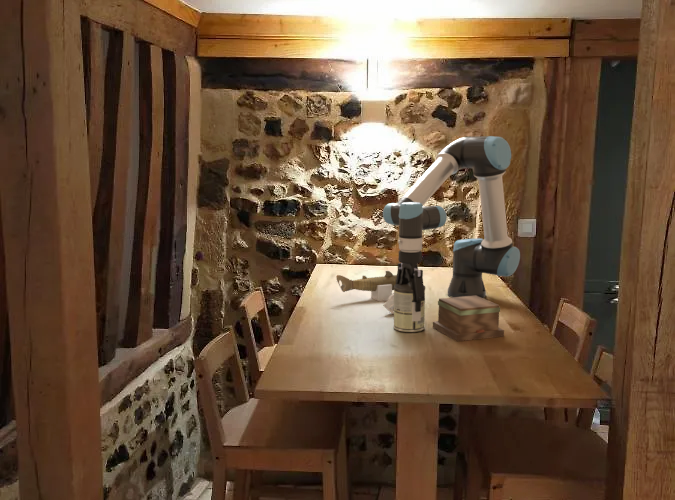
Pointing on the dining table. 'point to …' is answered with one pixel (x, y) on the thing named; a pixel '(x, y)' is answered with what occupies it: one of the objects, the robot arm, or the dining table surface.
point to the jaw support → (390, 304)
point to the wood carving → (371, 285)
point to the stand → (468, 318)
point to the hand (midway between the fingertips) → (408, 316)
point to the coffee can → (406, 309)
